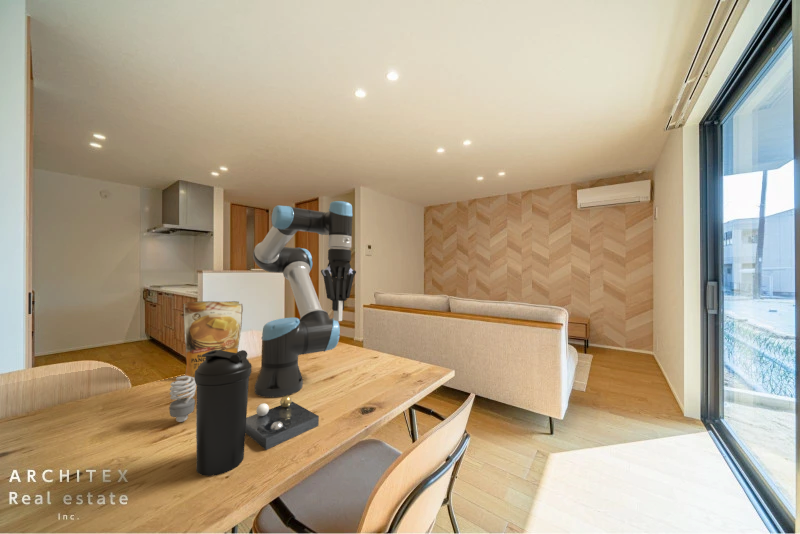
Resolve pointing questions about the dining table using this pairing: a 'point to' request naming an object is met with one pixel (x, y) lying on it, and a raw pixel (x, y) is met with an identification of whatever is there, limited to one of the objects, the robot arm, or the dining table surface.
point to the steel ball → (276, 426)
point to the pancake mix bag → (210, 330)
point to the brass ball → (285, 401)
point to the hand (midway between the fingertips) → (337, 320)
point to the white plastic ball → (262, 409)
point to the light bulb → (182, 398)
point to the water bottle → (221, 411)
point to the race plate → (292, 419)
